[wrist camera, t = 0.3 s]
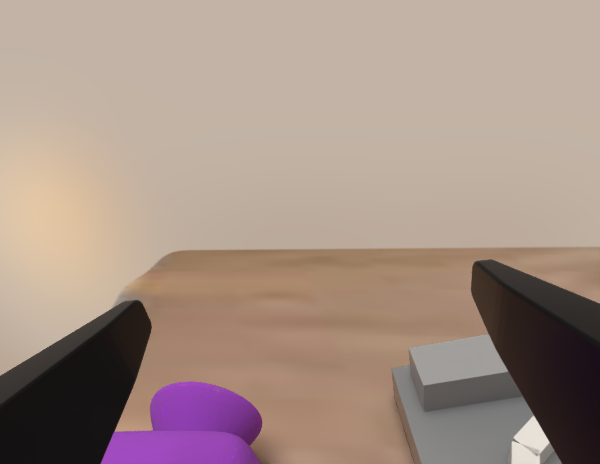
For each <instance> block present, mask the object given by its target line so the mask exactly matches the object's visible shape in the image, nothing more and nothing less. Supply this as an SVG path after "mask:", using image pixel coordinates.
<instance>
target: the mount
mask: <svg viewBox="0 0 600 464" xmlns="http://www.w3.org/2000/svg"><path fill="white" fill-rule="evenodd" d="M409 360H410V365H408V366H403V367H397V368H391V369H392V379H393V388H394V397H395V400H396V403H397V407H398V410H399V413H400V417H401V420H402V423H403V427H404V430H405V433H406V437H407V440H408V443H409V447H410V450H411V453H412V457H413V460H414V463H415V464H562V463H561V461H560V460H559V458H558V456H557V454H556V453H555V451H554V449H553V448H552V446H551V444H550V442H549V441H548V439H547V437H546V435H545V434H544V432H543V430H542V429H541V427H540V425H539V423H538V422H537V420H536V418H535V417H534V415H533V413H532V411H531V410H530V408H529V406H528V405H527V403H526V401H525V399H524V398H523V396H522V394H521V392H520V391H519V389H518V387H517V386H516V384H515V382H514V380H513V379H512V377H511V375H510V374H509V372H508V370H507V368H506V367H505V365H504V363H503V361H502V360H501V358H500V356H499V354H498V353H497V351H496V349H495V347H494V345H493V342H492V340H491V338H490V336H489V334H488V335H482V336H476V337H470V338H464V339H459V340H453V341H447V342H441V343H435V344H430V345H424V346H418V347H412V348H409Z"/></svg>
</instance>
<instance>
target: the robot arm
mask: <svg viewBox="0 0 600 464" xmlns="http://www.w3.org/2000/svg"><path fill="white" fill-rule="evenodd" d="M471 292H472V296H473V299H474V301H475V303H476V306H477V308H478V310H479V313H480V315H481V317H482V320H483V322H484V324H485V326H486V329H487V331H488V333H489V336H490V338H491V340H492V342H493V345H494V347H495V349H496V351H497V353H498V354H499V356H500V358H501V360H502V361H503V363H504V365H505V367H506V368H507V370H508V372H509V374H510V375H511V377H512V379H513V380H514V382H515V384H516V386H517V387H518V389H519V391H520V392H521V394H522V396H523V398H524V399H525V401H526V403H527V405H528V406H529V408H530V410H531V411H532V413H533V415H534V417H535V418H536V420H537V422H538V423H539V425H540V427H541V429H542V430H543V432H544V434H545V435H546V437H547V439H548V441H549V442H550V444H551V446H552V448H553V449H554V451H555V453H556V454H557V456H558V458H559V460H560V461H561V463H562V464H600V303H597V302H595V301H592V300H590V299H587V298H585V297H582V296H580V295H578V294H575V293H573V292H570V291H568V290H565V289H563V288H560V287H558V286H555V285H553V284H551V283H548V282H546V281H543V280H541V279H538V278H536V277H533V276H531V275H529V274H526V273H524V272H521V271H519V270H516V269H514V268H511V267H509V266H507V265H504V264H502V263H499V262H497V261H494V260H481V261H476V262H474V264H473V268H472V282H471ZM151 328H152V326H151V321H150V319H149V317H148V315H147V312H146V310H145V308H144V306H143V304H142V302H141V301H139V300H132V301H125V302H122V303H121V304H119V305H117V306H116V307H114V308H112V309H111V310H109V311H107V312H106V313H104V314H102V315H101V316H99V317H97V318H96V319H94V320H92V321H91V322H89V323H87V324H86V325H84V326H82V327H81V328H79V329H77V330H76V331H74V332H72V333H71V334H69V335H68V336H66V337H64V338H63V339H61V340H59V341H57V342H56V343H54V344H53V345H51V346H49V347H47V348H46V349H44V350H42V351H41V352H39V353H37V354H36V355H34V356H32V357H31V358H29V359H28V360H26V361H24V362H22V363H21V364H19V365H17V366H16V367H14V368H12V369H11V370H9V371H8V372H6V373H4V374H3V375H1V376H0V464H101V462H102V460H103V457H104V455H105V453H106V450H107V448H108V445H109V443H110V441H111V438H112V436H113V434H114V431H115V429H116V427H117V424H118V422H119V419H120V417H121V415H122V412H123V410H124V408H125V405H126V403H127V400H128V398H129V396H130V393H131V391H132V389H133V386H134V383H135V381H136V378H137V375H138V372H139V369H140V366H141V362H142V359H143V356H144V353H145V349H146V346H147V343H148V340H149V337H150V333H151Z"/></svg>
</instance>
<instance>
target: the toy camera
mask: <svg viewBox="0 0 600 464" xmlns="http://www.w3.org/2000/svg"><path fill="white" fill-rule="evenodd" d="M150 413H151V422H152V427H153V431H125V432H114V434H113V436H112V438H111V441H110V443H109V445H108V448H107V450H106V453H105V455H104V457H103V460H102V462H101V464H260V462H259V460H258V459H257V457H256V455H255V454H254V452H253V451H252V449H251V448H250V445H251V444H252V442H253V441H254V440H255V439H256V437H257V436H258V435H259V433H260V431H261V428H262V418H261V416H260V414H259V412H258V410H257V409H256V408H255V407H254V406H253V405H252V404H251V403H250V402H248V401H247V400H246V399H244V398H243V397H241V396H240V395H238V394H236V393H234V392H232V391H230V390H227V389H225V388H222V387H219V386H216V385H212V384H207V383H202V382H179V383H174V384H170V385H168V386H165V387H163V388H162V389H160V390H159V391H158V392H157V393H156V394H155V395H154V397H153V398H152V401H151V406H150Z"/></svg>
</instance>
